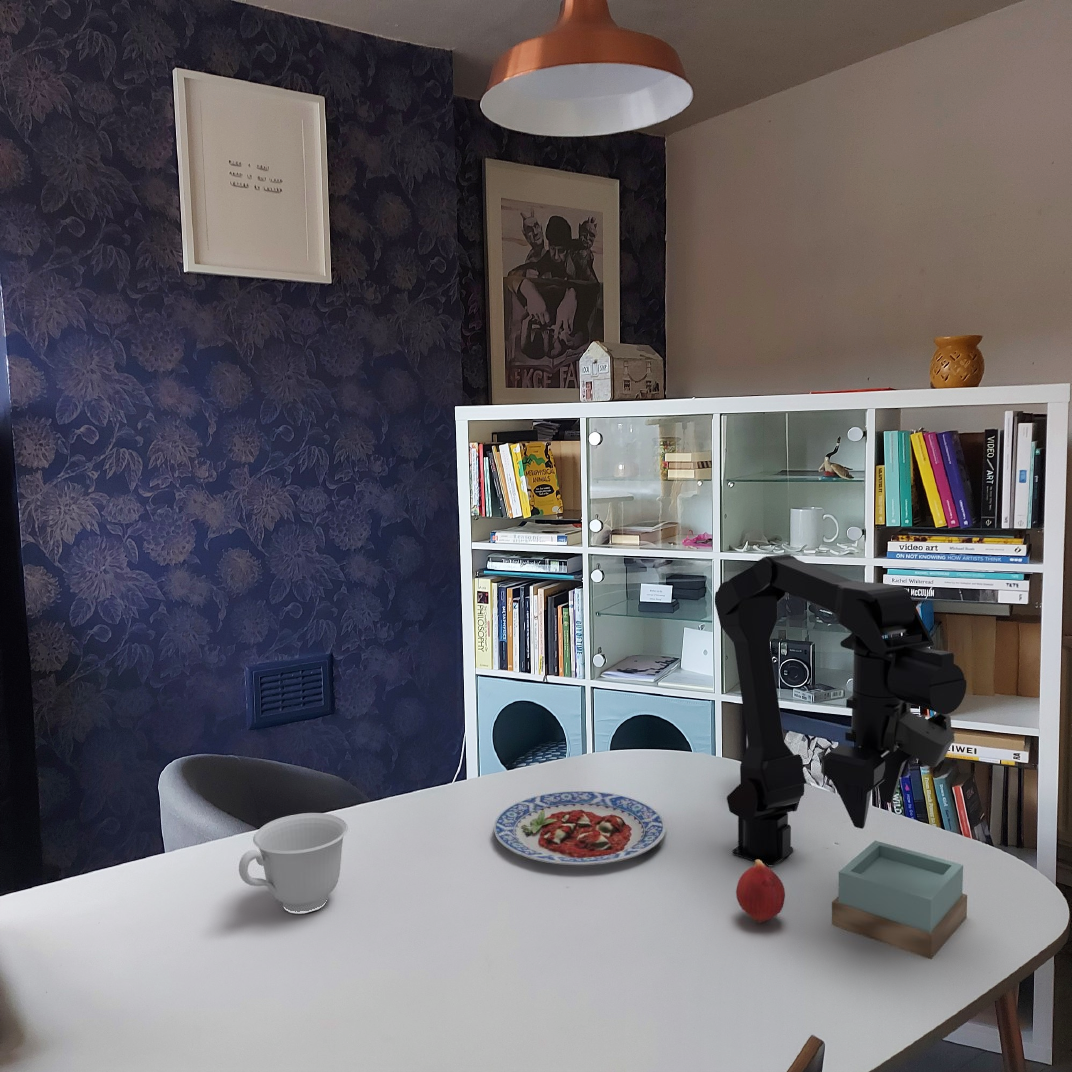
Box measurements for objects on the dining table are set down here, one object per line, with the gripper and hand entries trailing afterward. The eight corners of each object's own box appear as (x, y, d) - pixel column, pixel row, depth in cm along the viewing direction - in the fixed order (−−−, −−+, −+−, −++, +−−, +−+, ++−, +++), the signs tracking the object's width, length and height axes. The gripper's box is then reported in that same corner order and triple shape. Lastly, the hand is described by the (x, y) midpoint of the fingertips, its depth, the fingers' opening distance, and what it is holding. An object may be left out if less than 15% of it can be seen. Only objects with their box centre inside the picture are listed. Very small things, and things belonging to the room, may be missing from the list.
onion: (786, 913, 120) (786, 853, 119) (782, 937, 115) (783, 874, 114) (739, 907, 122) (739, 847, 121) (733, 930, 117) (733, 867, 116)
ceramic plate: (693, 823, 148) (693, 805, 148) (616, 895, 127) (615, 873, 126) (551, 792, 162) (551, 775, 162) (459, 852, 140) (459, 832, 140)
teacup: (219, 915, 124) (214, 841, 122) (317, 873, 134) (313, 805, 133) (270, 948, 115) (265, 869, 114) (370, 901, 126) (366, 828, 125)
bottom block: (831, 928, 118) (831, 901, 117) (871, 891, 127) (872, 866, 126) (930, 964, 110) (931, 935, 109) (966, 921, 119) (967, 894, 118)
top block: (838, 902, 117) (838, 871, 117) (874, 869, 125) (875, 840, 125) (930, 933, 110) (931, 900, 109) (962, 895, 118) (963, 864, 117)
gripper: (920, 724, 103) (915, 862, 105) (971, 684, 117) (966, 806, 119) (820, 705, 110) (817, 834, 112) (880, 669, 124) (876, 784, 126)
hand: (873, 814), depth 117 cm, fingers open, 9 cm apart
